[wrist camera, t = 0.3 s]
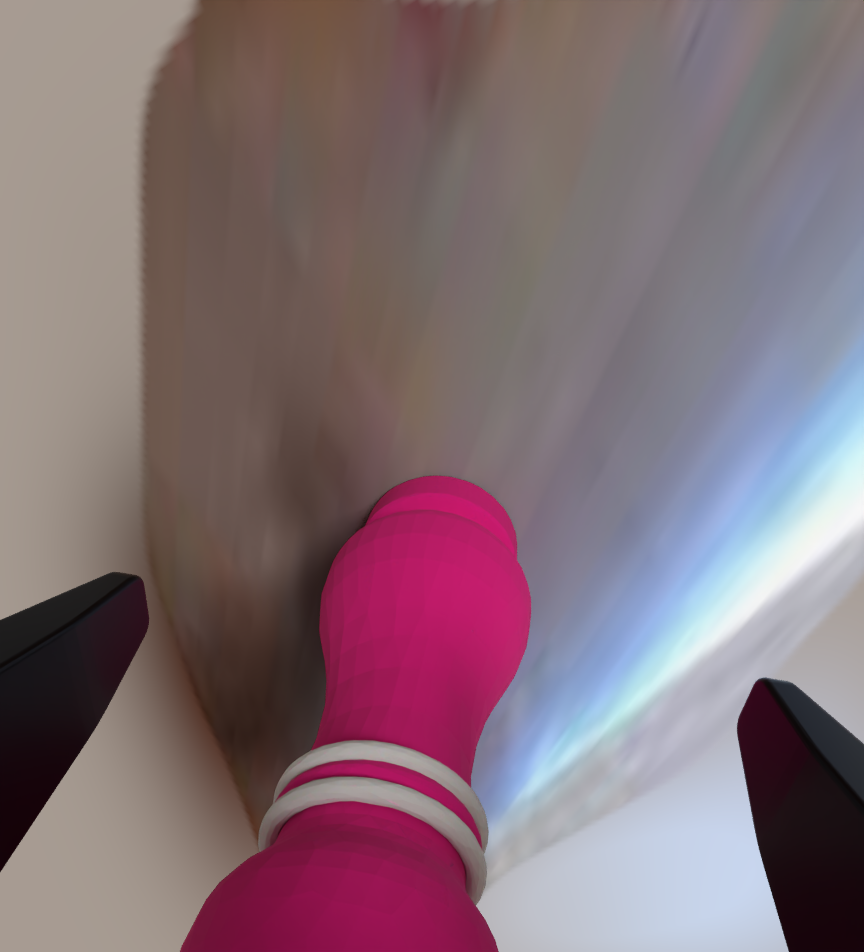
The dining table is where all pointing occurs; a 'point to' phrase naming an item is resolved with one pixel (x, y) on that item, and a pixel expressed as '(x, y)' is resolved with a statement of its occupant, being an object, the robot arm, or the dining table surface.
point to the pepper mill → (390, 742)
